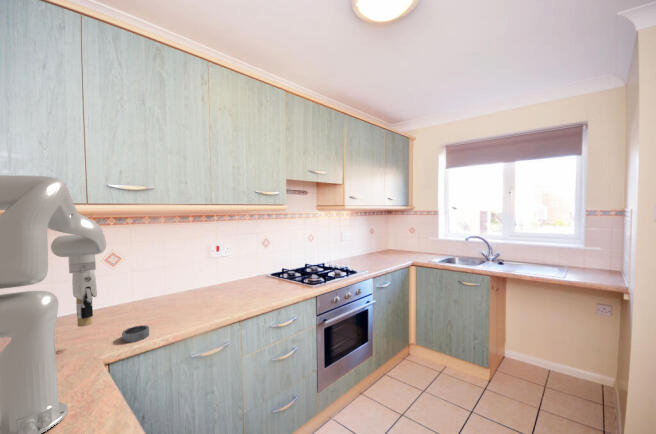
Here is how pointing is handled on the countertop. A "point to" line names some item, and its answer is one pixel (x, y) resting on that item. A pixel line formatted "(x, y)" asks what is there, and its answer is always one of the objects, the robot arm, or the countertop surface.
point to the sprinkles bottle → (80, 321)
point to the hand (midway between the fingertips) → (84, 315)
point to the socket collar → (135, 333)
